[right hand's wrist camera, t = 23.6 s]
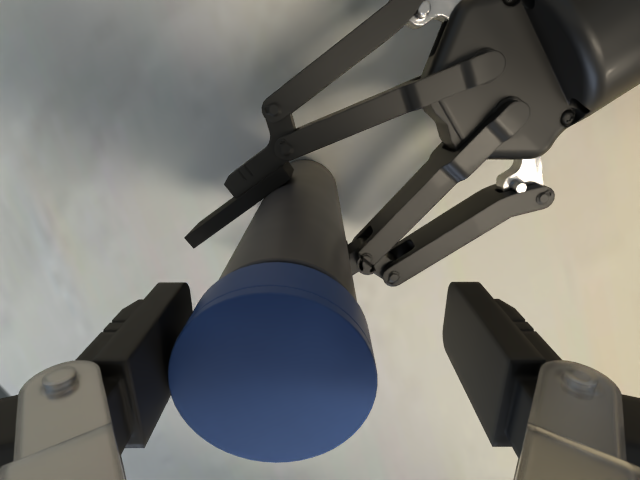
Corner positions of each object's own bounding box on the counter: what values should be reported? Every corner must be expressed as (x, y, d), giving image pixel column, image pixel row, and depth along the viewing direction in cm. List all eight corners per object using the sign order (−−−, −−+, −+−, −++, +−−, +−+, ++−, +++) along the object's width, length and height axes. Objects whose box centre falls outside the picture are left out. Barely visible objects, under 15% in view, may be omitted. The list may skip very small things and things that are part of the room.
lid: (339, 428, 12) (342, 479, 10) (177, 393, 11) (154, 440, 10) (394, 288, 10) (407, 323, 9) (206, 240, 10) (185, 267, 8)
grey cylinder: (348, 176, 28) (398, 326, 10) (320, 232, 29) (319, 451, 11) (288, 148, 27) (223, 252, 9) (262, 206, 28) (163, 397, 10)
